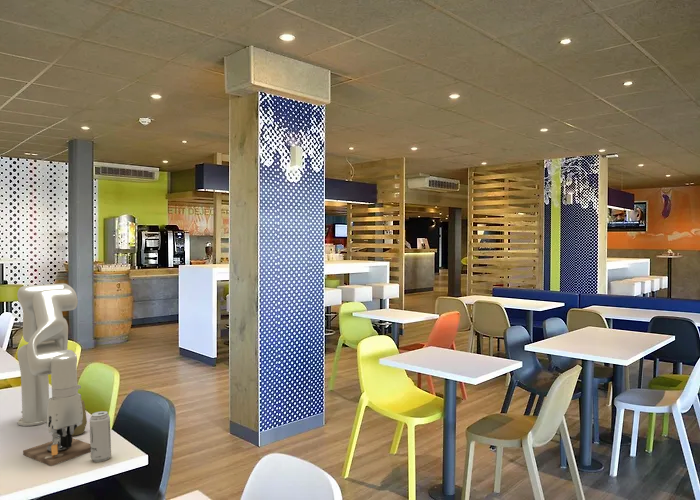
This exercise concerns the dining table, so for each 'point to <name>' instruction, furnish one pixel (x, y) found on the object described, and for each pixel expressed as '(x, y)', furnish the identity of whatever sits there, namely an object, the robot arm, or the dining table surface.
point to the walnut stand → (49, 459)
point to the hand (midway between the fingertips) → (66, 446)
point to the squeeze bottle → (81, 428)
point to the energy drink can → (100, 436)
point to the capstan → (56, 445)
